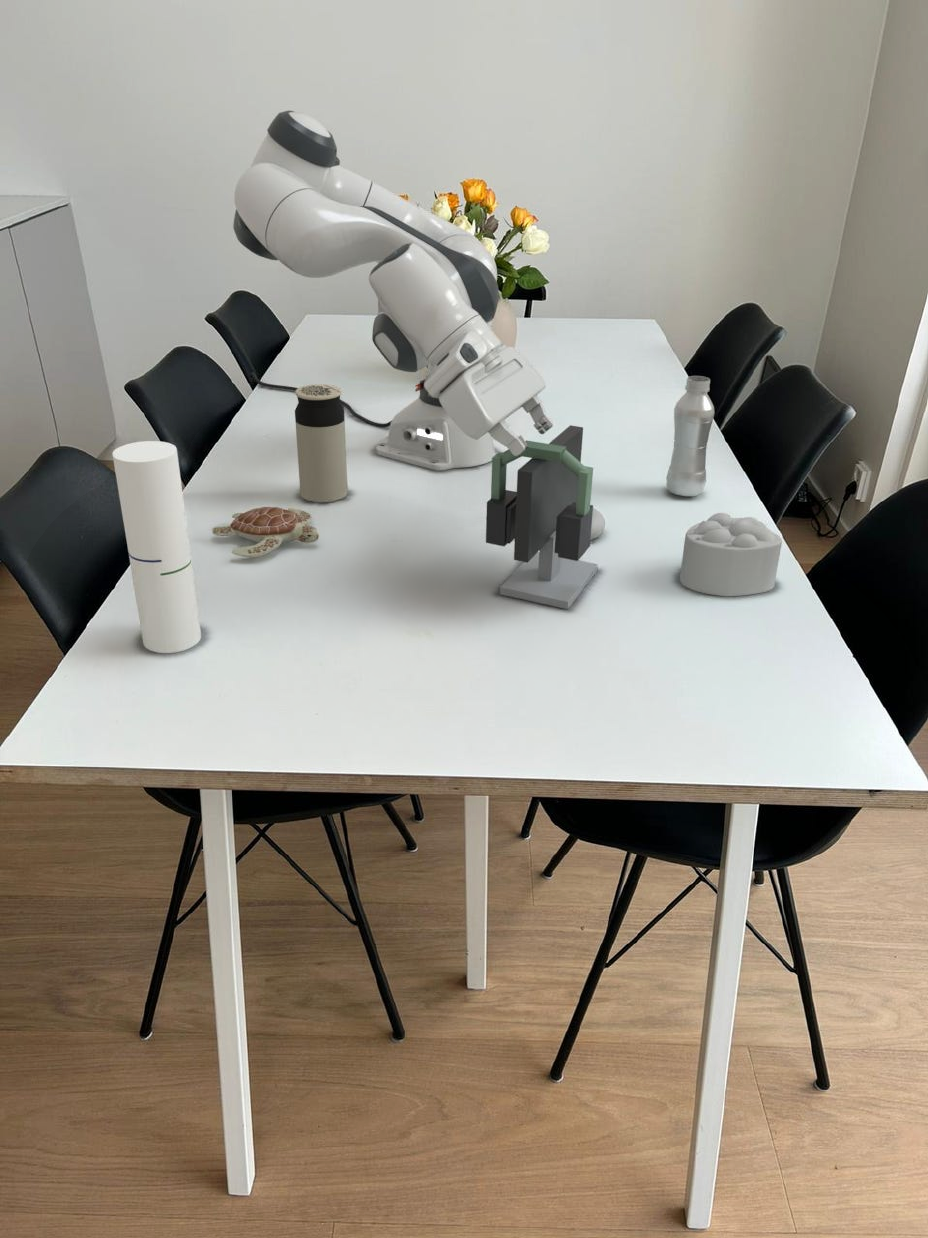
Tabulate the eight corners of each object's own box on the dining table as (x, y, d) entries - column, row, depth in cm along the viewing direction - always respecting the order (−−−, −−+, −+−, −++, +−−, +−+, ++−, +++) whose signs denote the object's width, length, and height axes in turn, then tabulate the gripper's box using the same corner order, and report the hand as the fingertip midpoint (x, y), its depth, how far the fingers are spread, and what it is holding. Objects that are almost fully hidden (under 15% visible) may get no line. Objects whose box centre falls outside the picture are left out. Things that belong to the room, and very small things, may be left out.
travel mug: (310, 507, 167) (303, 400, 158) (294, 490, 173) (286, 386, 164) (355, 499, 170) (350, 393, 161) (337, 483, 176) (332, 381, 168)
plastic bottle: (704, 502, 171) (720, 385, 161) (663, 498, 172) (677, 382, 163) (704, 488, 177) (719, 374, 167) (664, 485, 178) (678, 372, 168)
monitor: (489, 605, 138) (493, 466, 128) (541, 549, 154) (548, 421, 144) (558, 620, 134) (568, 479, 125) (604, 561, 150) (616, 432, 141)
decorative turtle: (289, 572, 146) (287, 540, 143) (190, 553, 151) (186, 522, 148) (345, 525, 161) (344, 495, 158) (253, 509, 166) (251, 480, 163)
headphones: (485, 542, 138) (488, 444, 131) (500, 528, 142) (503, 432, 135) (577, 561, 133) (585, 460, 127) (589, 546, 138) (598, 447, 131)
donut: (596, 550, 154) (610, 524, 162) (598, 529, 152) (612, 504, 161) (533, 540, 157) (549, 515, 165) (534, 520, 155) (551, 496, 163)
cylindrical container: (148, 625, 132) (119, 441, 120) (204, 624, 132) (181, 440, 120) (138, 654, 125) (106, 462, 113) (196, 652, 126) (171, 461, 114)
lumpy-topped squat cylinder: (782, 590, 143) (792, 534, 139) (697, 600, 140) (705, 543, 136) (747, 559, 152) (755, 506, 147) (666, 568, 149) (673, 513, 145)
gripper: (483, 353, 140) (545, 431, 141) (417, 390, 124) (489, 479, 125) (514, 323, 136) (578, 404, 138) (451, 358, 120) (524, 450, 121)
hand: (535, 440), depth 131 cm, fingers open, 8 cm apart
